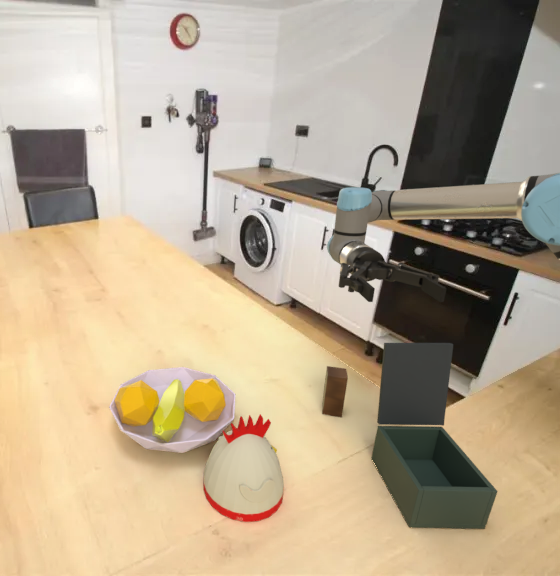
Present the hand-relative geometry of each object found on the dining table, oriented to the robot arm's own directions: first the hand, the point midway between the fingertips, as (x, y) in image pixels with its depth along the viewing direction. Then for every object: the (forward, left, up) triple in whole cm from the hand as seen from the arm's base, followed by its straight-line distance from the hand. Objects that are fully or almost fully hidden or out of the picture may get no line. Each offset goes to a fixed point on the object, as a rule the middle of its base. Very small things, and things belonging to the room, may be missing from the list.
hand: (407, 295), depth 76 cm
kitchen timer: (+26, +24, -30) cm, 46 cm away
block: (+10, -3, -30) cm, 32 cm away
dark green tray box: (-4, +16, -30) cm, 34 cm away
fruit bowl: (+43, +12, -30) cm, 54 cm away
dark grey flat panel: (-2, +8, -14) cm, 16 cm away
